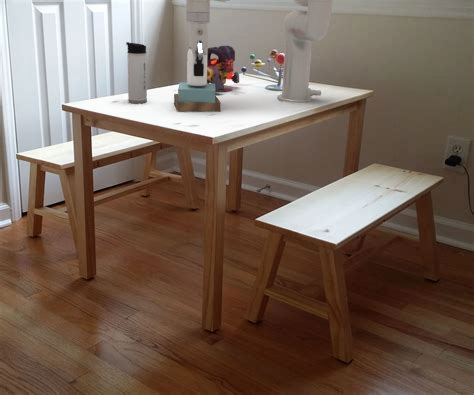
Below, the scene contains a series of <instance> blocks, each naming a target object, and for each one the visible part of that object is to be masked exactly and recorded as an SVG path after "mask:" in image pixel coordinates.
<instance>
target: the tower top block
mask: <svg viewBox="0 0 474 395" xmlns="http://www.w3.org/2000/svg"><path fill="white" fill-rule="evenodd" d="M177 94H178V101H179V102H210V103H215V95H216V92H215V84H211V83H207V84H206V85H205V86H190V85H188V84H187V82H179V84H178V87H177Z"/></svg>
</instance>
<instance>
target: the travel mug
mask: <svg viewBox="0 0 474 395" xmlns="http://www.w3.org/2000/svg"><path fill="white" fill-rule="evenodd" d="M125 45H126V46H127V92H128V93H127V94H128V96H127V98H128V102H129V103H130V104H137V105H138V104H139V105H140V104H146V103H147V102H148V99H147V97H148V94H147V90H148V88H147V87H148V86H147V85H148V84H147V82H148V81H147V79H148V78H147V45H145V44H143V43H135V42H130V41H129V42H127V41H126V42H125Z"/></svg>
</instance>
